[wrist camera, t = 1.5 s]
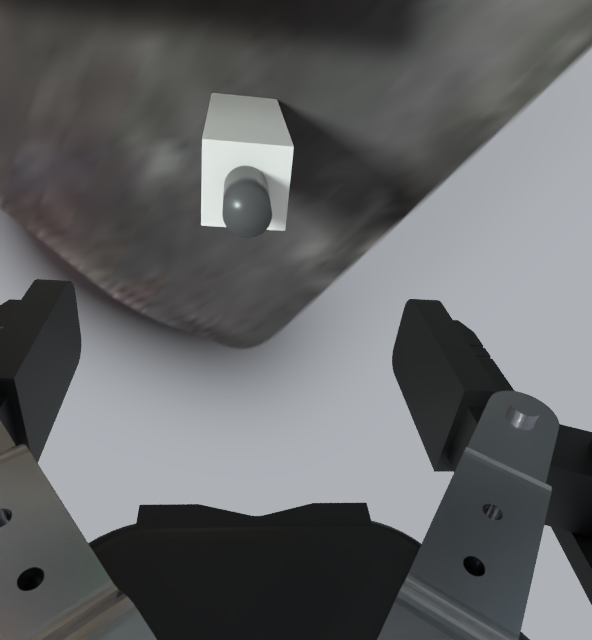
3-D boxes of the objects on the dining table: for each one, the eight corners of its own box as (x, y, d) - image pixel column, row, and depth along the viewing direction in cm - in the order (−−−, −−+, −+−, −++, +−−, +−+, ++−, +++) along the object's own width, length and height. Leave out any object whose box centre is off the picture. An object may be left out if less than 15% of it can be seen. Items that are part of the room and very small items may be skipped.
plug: (277, 99, 29) (302, 169, 18) (271, 163, 31) (291, 261, 20) (211, 92, 28) (197, 160, 18) (210, 158, 30) (196, 256, 20)
